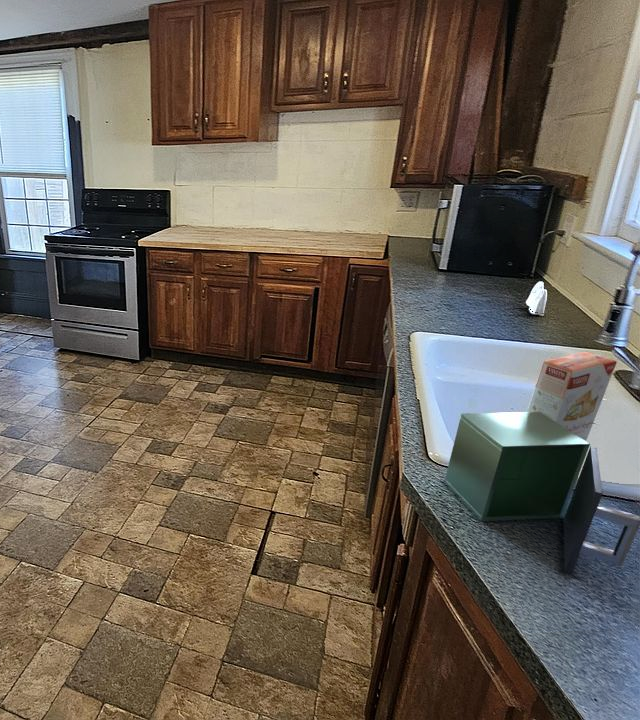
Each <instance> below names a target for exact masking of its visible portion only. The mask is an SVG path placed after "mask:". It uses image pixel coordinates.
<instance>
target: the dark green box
mask: <svg viewBox="0 0 640 720" xmlns="http://www.w3.org/2000/svg"><path fill="white" fill-rule="evenodd" d="M590 446H591V443H589V442H588V441H587V440H586V441H585V440H583V439H582V438H580V437H579V436H577V435H575V434H574V433H572V432H571V431H569V430H568V429H566V428H565V427H563V426H561V425H560V424H558V423H557V422H555V421H554V420H552V419H550V418H549V417H547V416H546V415H544V414H543V413H541V412H527V411H513V412H512V411H511V412H510V411H508V412H470V413H469V412H467V413H461V415H460V418H459V422H458V426H457V429H456V434H455V437H454V442H453V445H452V449H451V453H450V456H449V457H450V458H449V461H448V465H447V470H446V473H445V477H444V481H443V482H444V484H445V485H446V486H447V487H448V488H449V490H451V491H452V493H454V495H456V497H457V498H458V499H459V500H460V501H461V502H462V503H463V504H464V505H465V506H466V507H467V508H468V509H469V510H470V512H471V513H472V514H474V515H475V517H476V518H477V519H478V520H479V521H480V522H488V521H489V522H490V521H514V520H515V521H517V520H539V519H540V520H542V519H564V517H565V514H566V511H567V508H568V506H569V503H570V500H571V498H572V495H573V492H574V489H575V487H576V484H577V481H578V479H579V476H580V473H581V470H582V468H583V465H584V462H585V459H586V457H587V454H588V451H589V449H590Z"/></svg>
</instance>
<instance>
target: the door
mask: <svg viewBox="0 0 640 720" xmlns="http://www.w3.org/2000/svg"><path fill="white" fill-rule="evenodd" d="M599 464H600V463H599V456H598V449H597V447H596V446H595V447H594V446H592V445H590V446H589V448H588V451H587V454H586V457H585V459H584V462H583V465H582V467H581V470H580V473H579V476H578V478H577V481H576V484H575V487H574V489H573V492H572V495H571V497H570V500H569V503H568V506H567V508H566V511H565V514H564V516H563V555H564V556H563V558H564V559H563V560H564V561H563V563H564V573H567V574H570V575H571V574H572V573H573V571H574V568H575V565H576V563H577V561H578V558H579V555H580V554H582V555H584V556H587V557H591V558H594V559H597V560H600V561H603V562H605V563H609V564H611V565H615V566H618V567H622V566H623V565H624V562H625V560H626V558H627V556H628V553H629V552H630V550H631V546H632V544H633V542H634V540H635V537H636V535H637V533H638V531H639V530H640V529H639V528H640V516H639V515H637V514H635V513H631V512H628V511H624V510H620V509H618V508H614V507H611V506H608V505H605V504H600V501H601V499H602V497H603V494H604V493H603V486H602V485H603V484H602V478H601V472H600V470H601V469H600V465H599ZM594 517H595V518H598V519H602V520H605V521H609V522H612V523H615V524H619V525H622V526H623V528H622V531H621V532H620V535H619V537H618V541H617V543H616V544H615V547H614V549H612V548H611V549H610V548H608V547H604V546H601V545H598V544H595V543H592V542H590V541H586V537H587V535H588V532H589V529H590V527H591V526H592V522H593V521H594V520H593V519H594Z"/></svg>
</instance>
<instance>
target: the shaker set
mask: <svg viewBox="0 0 640 720" xmlns="http://www.w3.org/2000/svg"><path fill="white" fill-rule="evenodd" d="M547 299H548V290H547V289H544V282H543V281H538V282H537V283H536V284H535V285H534V286H533V288H532V289H531V291H530V293H529V296H528V298H527V299H526V301H525V304H526V306H528V307H529V308H528V311H529V313H530V314H532V315H538V316H540V317H544V314H545V309H546V304H547ZM530 309H531V310H530ZM532 311H533V312H532ZM535 312H538V313H535ZM542 313H544V314H542Z"/></svg>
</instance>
